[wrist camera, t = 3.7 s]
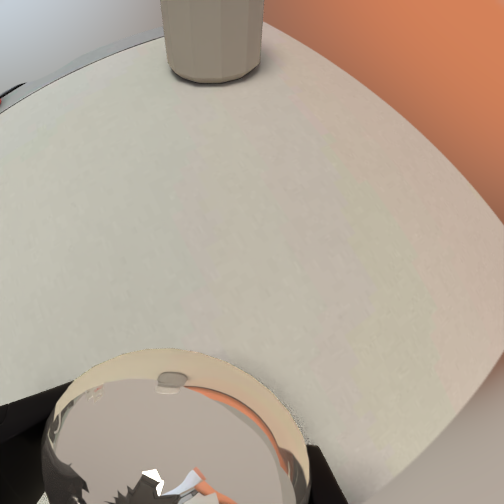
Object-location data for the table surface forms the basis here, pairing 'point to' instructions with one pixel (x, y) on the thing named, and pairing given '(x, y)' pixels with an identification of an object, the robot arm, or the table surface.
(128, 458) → the light bulb
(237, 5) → the jar
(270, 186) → the table surface
